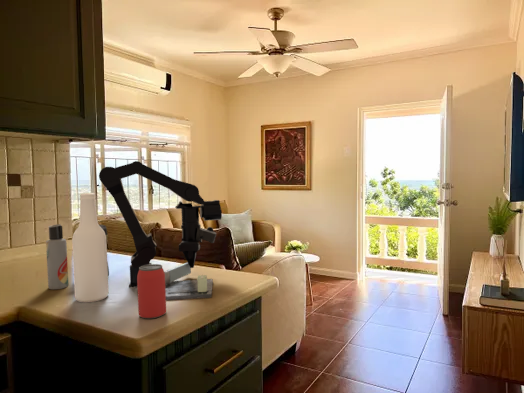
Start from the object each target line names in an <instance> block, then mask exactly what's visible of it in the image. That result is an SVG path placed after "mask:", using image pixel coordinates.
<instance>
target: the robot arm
mask: <svg viewBox="0 0 524 393" xmlns="http://www.w3.org/2000/svg"><path fill="white" fill-rule="evenodd" d="M134 175H138V176H141V177H143V178H144V179H146V180H148V181H151V182H153V183H155V184H157V185H159V186H162V187H164V188H165V189H168V190H170V191H171V192H172V193H174V194H175V195H176V196H178V197H179V198H181V199H182V200H183V201H187V203H185V202H184V203H183V202H182V201H179V202H178V204H176V205H175V209H177V210H180V211H181V225H180V229H181V235H182V236H181V242H180V243H179V244H178V251H179V252H182V254H183V256H184V258H185V259H186V263H187V262H188V264H189V266H190V268H191V269H193V268H195V264H196V263H195V262H196V257H197V253H198V252H199V251H200V249H201V246H202V245H201V244H202V242H203V241H207V242H209V243H210V244H214V243H215V240H216V237H217V234H218V233H217V232H216V231H214V227H211V226H208V227H207V228H203V227H201V223H200V218H201V219H203V221H204V222H206V221H219V220H220V221H221V220H222V217H223V216H222V215H223V213H222V212H223V211H222V206H221V202H220V200H219V199H214V200H208V201H207V200H204V198H202V196H201V195H200V190H199V187H198V186H197V185H195V184H191V183H188V182H186V181H182V180H179V179H178V180H177V179H176V178H175V179H174V178H172V177H170V176H168V175H166V174H164V173H162V172H160V171H158V170H157V169H156V170H155V169H153V168H152V167H150V166H148V165H145V164H144V163H142V162H141V161H138V160H135V161H132V162H130V163H128V164H127V163H126V164H124V165H120V166H116V167H113V166H105V167H103V168H102V169H101V170H100V171H99V174H98V177H99V180H100V182H101V183H102V185H103V186H104V188H105V189H106V190H107V192H109V194H110V195H111V196H112V198H113V199H114V201H115V204H116V205H117V208H118V210H119V212H120V214H121V216H122V218H123V220H124V221H125V222H124V223H125V224H126V226H127V227H128V230H129V231H130V234H131V236H132V239H133V240H132V241H133V243H134V246H135V250H136V251H135V252H134V253H133V254H132V256H131V257H130V265H129V279H130V280H129V283H128V286H129V287H137V275H138V272H139V267H141V266H144V265H150V264H152V262H151V261H152V260H153V259H155V257H156V255H157V249H156V248H157V243H156V242H155V241H154V240H153V236H152V232H150V233H148V234H147V233H146V232H145V230H144V229H143V227H142V225H141V223H140V221H139V219H138V216H137V215H136V213H135V211H134V209H133V206H132V204H131V203H130V200H129V199H128V196H127V195H126V192H125V189H124V184H123V181H122V179H125V178H128V177H131V176H134ZM188 202H189V203H188ZM192 202H193V203H195V204H197V205H193V203H192ZM200 243H201V244H200Z"/></svg>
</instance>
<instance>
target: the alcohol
mask: <svg viewBox="0 0 524 393" xmlns="http://www.w3.org/2000/svg"><path fill="white" fill-rule="evenodd" d="M95 196H96V193H95V192H88V193H83V192H82V193H80V194H79V197H80V198H79V200H80V202H79V203H80V204H79V207H80V208H79V224H78V227H77V228H76V229H75V230H74V233H73V234H72V239H71V243H72V259H73V260H72V262H73V282H74V284H73V286H74V299H75V300H76V301H77V302H79V303H93V302H94V303H95V302H98V301H99V302H100V301H102V300H104V299H106V298H107V297H108V296H109V276H108V268H109V265H108V266H107V261H108V248H107V247H108V246H107V240H106V235H105V232H104V230H103V229H102V228H101V227H100V226H99V225H100V224H99V222H98V221H99V220H98V215H97V213H98V212H97V207H96V206H97V205H96V197H95Z"/></svg>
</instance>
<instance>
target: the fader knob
mask: <svg viewBox="0 0 524 393" xmlns="http://www.w3.org/2000/svg"><path fill="white" fill-rule="evenodd" d="M207 276H208V275H207V274H202V275H201V274H200V275H199V274H198V275H197V278H196V280H197V281H198V292H207V279H208V277H207Z"/></svg>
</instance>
